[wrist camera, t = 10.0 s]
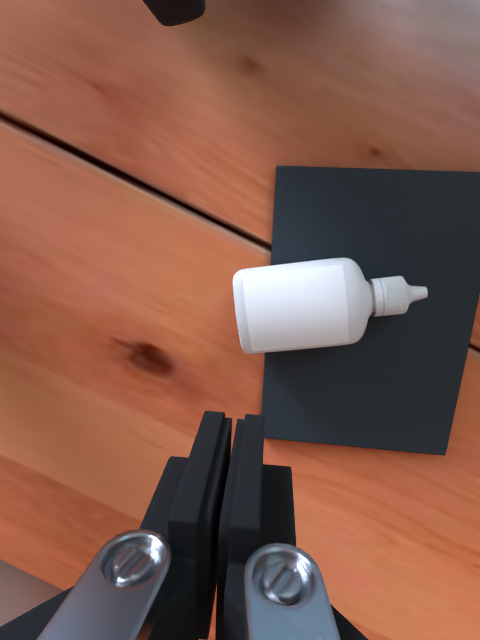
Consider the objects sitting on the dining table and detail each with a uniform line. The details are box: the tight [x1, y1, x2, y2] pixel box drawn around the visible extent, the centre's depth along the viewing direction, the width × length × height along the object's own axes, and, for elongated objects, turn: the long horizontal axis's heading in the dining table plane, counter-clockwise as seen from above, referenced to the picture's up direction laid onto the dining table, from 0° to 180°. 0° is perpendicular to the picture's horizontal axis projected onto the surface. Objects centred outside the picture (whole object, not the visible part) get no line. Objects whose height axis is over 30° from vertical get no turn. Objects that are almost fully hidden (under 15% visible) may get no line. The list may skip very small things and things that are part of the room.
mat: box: [261, 166, 480, 455], centre depth 28 cm, size 20×14×1 cm
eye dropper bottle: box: [233, 258, 428, 354], centre depth 25 cm, size 4×6×12 cm
